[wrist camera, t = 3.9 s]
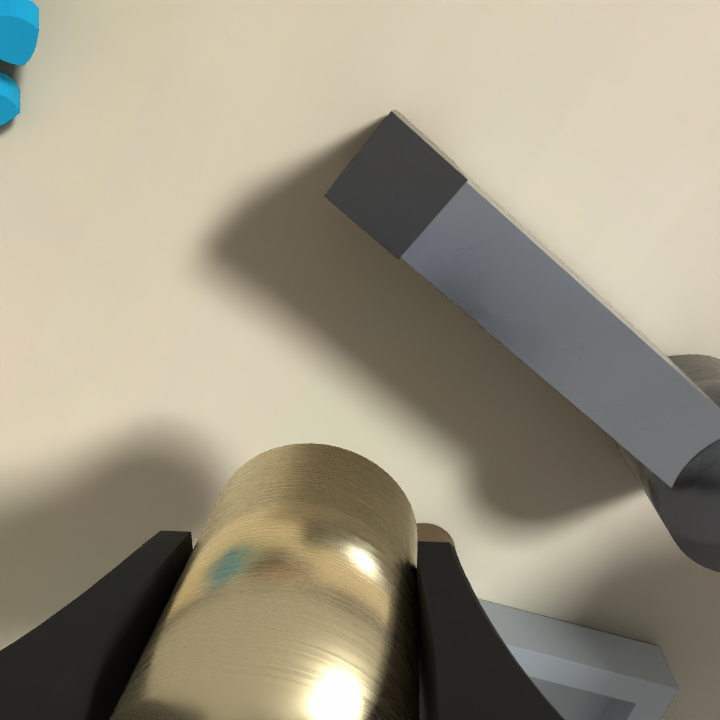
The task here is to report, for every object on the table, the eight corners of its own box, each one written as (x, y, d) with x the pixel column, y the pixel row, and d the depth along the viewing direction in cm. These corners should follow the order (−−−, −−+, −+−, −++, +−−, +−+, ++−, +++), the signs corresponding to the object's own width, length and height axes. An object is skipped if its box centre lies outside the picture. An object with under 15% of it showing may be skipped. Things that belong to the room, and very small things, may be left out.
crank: (783, 412, 19) (890, 500, 15) (675, 500, 21) (744, 604, 16) (420, 78, 17) (424, 69, 13) (322, 201, 18) (295, 231, 14)
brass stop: (443, 475, 14) (466, 732, 8) (385, 635, 15) (371, 943, 10) (234, 419, 14) (110, 640, 8) (198, 586, 15) (73, 869, 10)
